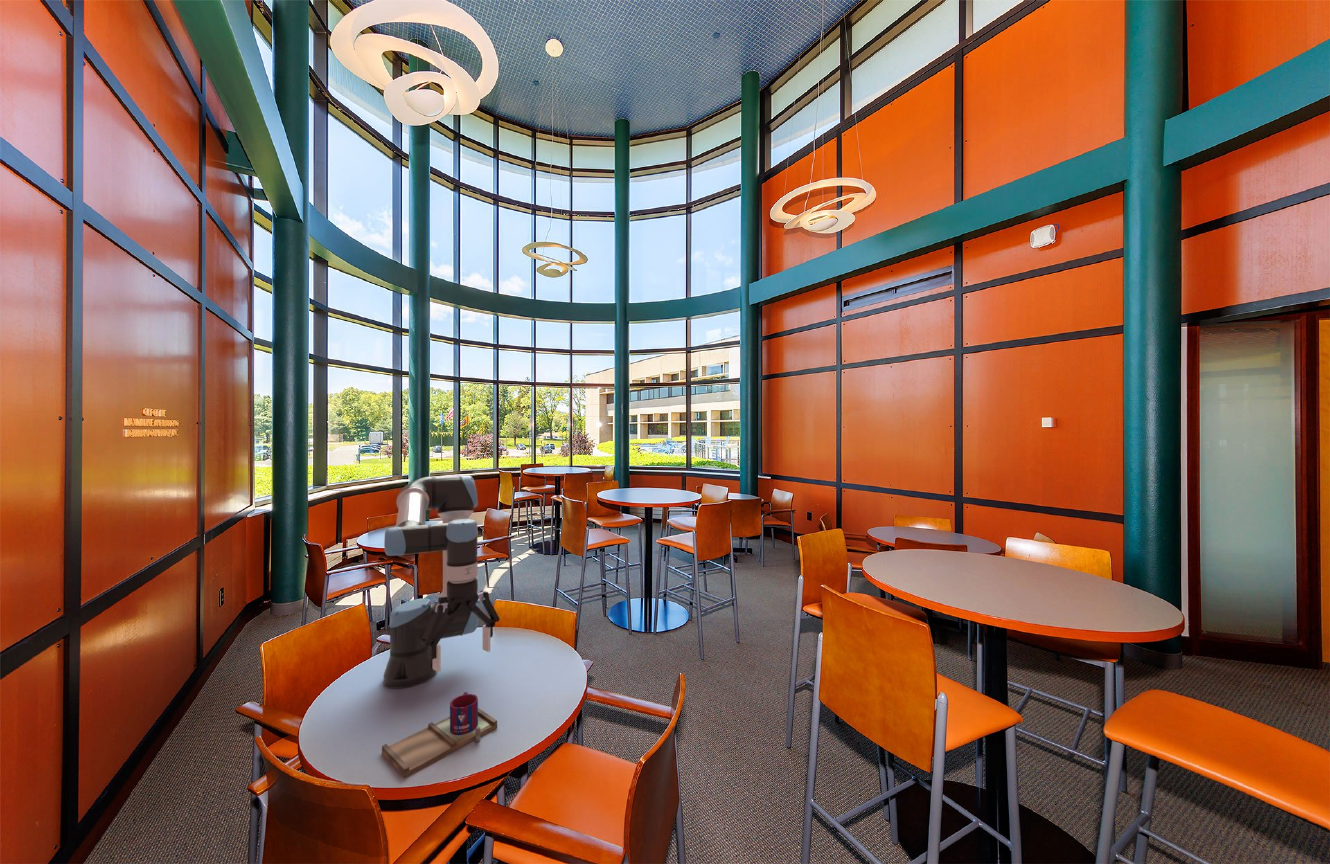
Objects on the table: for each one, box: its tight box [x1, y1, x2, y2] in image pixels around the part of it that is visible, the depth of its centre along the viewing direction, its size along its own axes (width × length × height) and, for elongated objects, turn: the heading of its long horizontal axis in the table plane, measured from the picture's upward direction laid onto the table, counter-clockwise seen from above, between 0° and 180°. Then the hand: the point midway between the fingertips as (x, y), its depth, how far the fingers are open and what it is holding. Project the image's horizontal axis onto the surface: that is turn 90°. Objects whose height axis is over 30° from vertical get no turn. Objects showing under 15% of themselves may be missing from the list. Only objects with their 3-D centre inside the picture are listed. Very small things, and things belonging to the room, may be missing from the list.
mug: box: [449, 691, 479, 735], centre depth 123 cm, size 7×10×7 cm
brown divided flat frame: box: [381, 707, 498, 778], centre depth 117 cm, size 15×23×3 cm, turn 141°
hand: (462, 659), depth 122 cm, fingers open, 13 cm apart
